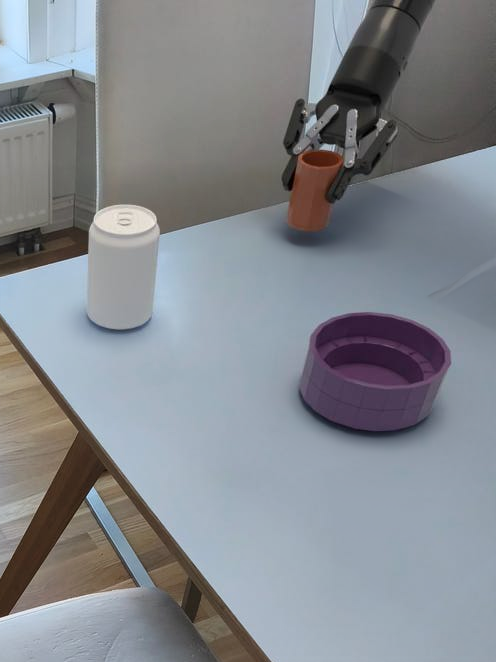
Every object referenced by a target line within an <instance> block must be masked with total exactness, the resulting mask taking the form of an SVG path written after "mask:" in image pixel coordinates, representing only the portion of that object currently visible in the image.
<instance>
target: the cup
mask: <svg viewBox="0 0 496 662" xmlns="http://www.w3.org/2000/svg"><path fill="white" fill-rule="evenodd" d="M343 166H344V157H343V156H342V155H341V154H339V153H338V152H335V151H332V150H328V149H319V150H309V151H305V152H303V153H301V154H300V155H299V156H298V160H297V165H296V170H295V175H294V180H293V185H292V190H291V191H290V196H289V201H288V207H287V211H286V218H285V221H286V224H287V225H288V226H289V227H291V229H292V228H293V229H294V230H298V231H303V232H318V231H321V230H324V229H326V228H327V227H328V226H329V224H330V221H331V218H332V213H333V209H334V205H335V203H334V204H332V203H328V201H327V198H326V196H327V193H328V191H329V189H330V187H331V185H332V183H333V181H334V179H335V177H336V175H337V173H338V171H339V169H340V167H341V168H343Z"/></svg>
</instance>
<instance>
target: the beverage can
mask: <svg viewBox="0 0 496 662" xmlns="http://www.w3.org/2000/svg"><path fill="white" fill-rule="evenodd" d="M157 222H158V221H157V216H156V214H155V213H154V212H153V211H152V210H150V209H149V208H147V207H143V206H141V205H135V204H114V205H110V206H106V207H104V208H102V209H100V210H98V211H97V212H96V213H95V215H94V217H93V221H92V222H91V224H90V225H89V229H88V246H87V247H88V249H87V250H88V252H87V255H88V256H87V286H86V287H87V288H86V315H87V316H88V318H89V320H91V322H93V323H94V324H96V325H98V326H100V327H103V328H105V329H109V330H110V329H111V330H130V329H134V328H138V327H140V326H142V325H144V324H146V323H147V322H148V321H149V320H150V319H151V317H152V315H153V309H154V300H155V288H156V277H157V268H158V255H159V245H160V235H161V230H160V226H159V224H158V223H157Z"/></svg>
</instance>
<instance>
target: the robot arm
mask: <svg viewBox="0 0 496 662" xmlns="http://www.w3.org/2000/svg"><path fill="white" fill-rule="evenodd" d="M436 3H437V0H372V2H371V5H370V7H369V8H368V10H367V13H365V14H366V15H365V16H364V18H363V19H362V21H361V23H360V24H359V25H358V27H357V29H356V31H355V33H354V34H353V37H352V39H351V41H350V43H349V45H348V47H347V49H346V51H345V53H344V54H343V57H342V59H341V61H340V63H339V65H338V67H337V69H336V71H335V72H334V75H333V77H332V79H331V80H330V83H329V86H328V88H327V91H326V92H325V94H324V95H323V97H321V99H320V100H318V102H317V103H308V102H307V103H306V102H305V99H304V98H298V99H297V100H296V101H295V103H294V106H293V109H292V113H291V114H290V119H289V121H288V124H287V128H286V131H285V134H284V137H283V141H282V144H283V146H284V149H285V151H286V154H287V155H288V156H290V158H289V160H288V162H287V164H286V166H285V168H284V170H283V172H282V174H281V182H282V187H283V189H284V191H287V192H291V191H292V185H293V180H294V175H295V170H296V165H297V160H298V156H299V155H300V154H301V153H303V152H305V151H309V150H321V148H322V147H323V146H325V145H330V146H337V147H339V148H341V149H344V159H343V166H342V168H341V167H340V169H339V171H338V173H337V175H336V177H335V179H334V181H333V183H332V185H331V187H330V189H329V191H328V193H327V196H326V198H327V201H328V203H332V204H334V205H335V203H336V201H340V200H341V199H342V198H343V196H344V195H345V193H346V190H347V189H348V187H349V185H350V183H351V181H352V179H353V177H355V176H356V175H364V176H369V175H371V174H372V173H373V171H374V170H375V168H376V167H377V166H378V164H379V163H380V161H381V160H382V158H383V157H384V156H385V154H386V153H387V151H388V150H389V149H390V147H391V146H392V145H393V143H394V142H395V140H396V139H397V138H398V134H399V133H398V127H397V122H396V120H394V119H390V120H388V121H387V120H386V119H383V118H382V114H383V111H384V110H385V107H386V105H387V104H388V101H389V100H390V98H391V96H392V94H393V92H394V90H395V88H396V86H397V84H398V82H399V80H400V78H401V76H402V74H403V73H404V72H405V71H406V69H407V67H408V63H409V60H410V58H411V56H412V55H413V51H414V49H415V47H416V44H417V41H418V39H419V36H420V34H421V32H422V30H423V29H424V27H425V25H426V22H427V20H428V18H429V17H430V15H431V13H432V10H433V9H434V6H435V5H436ZM314 116H315V119H316V122H315V123H314V124H313V125H312V126H310V128H309V129H308V130H307V131H306V133H305V136H303V138H302V139H301V137H302V133H303V130H304V126H305V124H308V123H309V121H310V120H311V118H313V117H314ZM373 132H375V135H374V136H375V138H374V140H373V141H372V143H371V144H370V146H369V147H368V148H367V150H366V151H365V153H364V154H363V156H362V157H361V158H359V157H360V149H361V141H362V140H364V139H365V138H366V137H368V136H369V135H370V134H372V133H373Z"/></svg>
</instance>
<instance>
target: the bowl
mask: <svg viewBox="0 0 496 662" xmlns="http://www.w3.org/2000/svg"><path fill="white" fill-rule="evenodd" d="M451 365H452V353H451V349H450V348H449V346H448V345H447V343H446V342H445V340H444V339H443V338H442V336H440V335H439V334H438V333H436V332H435V331H433V330H432V329H431V328H430V327H428V326H426V325H424V324H422V323H419V322H417V321H415V320H413V319H410V318H406V317H403V316H399V315H396V314H391V313H385V312H384V313H383V312H375V311H365V312H364V311H363V312H348V313H344V314H341V315H337V316H333V317H331V318H329V319H327V320H325V321H323V322H321V323H320V324H318V325H317V326H316V328H315V329H314V330H313V332H312V333H311V334H310V337H309V341H308V345H307V349H306V352H305V357H304V361H303V365H302V368H301V372H300V377H299V385H298V389H299V391H300V394H301V395H302V398H303V401H304V402H305V403H306V404H307V405H308V406H309V407H310V408H311V409H312V410H313V411H314V412H315V413H317V414H319V415H321V416H322V417H324V418H326V419H327V420H329V421H331V422H333V423H336V424H339V425H343V426H345V427H348V428H352V429H356V430H363V431H370V432H388V431H398V430H401V429H405V428H408V427H409V428H410V427H412V426H415V425H416V424H419V423H421V422H422V421H423V420H424V419H426V418H427V417H428V416H429V415H430V413H431V412H432V410H433V408H434V407H435V405H436V402H437V401H438V398H439V395H440V392H441V390H442V387H443V385H444V382H445V380H446V378H447V375H448V372H449V370H450V367H451Z"/></svg>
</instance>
